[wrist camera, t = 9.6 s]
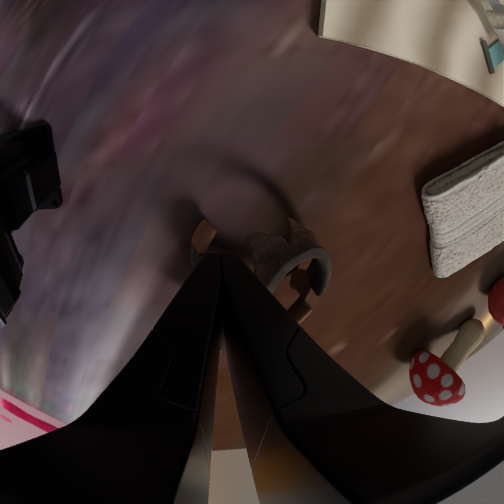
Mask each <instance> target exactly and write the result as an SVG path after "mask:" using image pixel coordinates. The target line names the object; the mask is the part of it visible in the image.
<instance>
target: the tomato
mask: <svg viewBox="0 0 504 504" xmlns="http://www.w3.org/2000/svg"><path fill="white" fill-rule="evenodd" d="M488 309H489V313H490V314H491V315H492V317H493V318H494V320H495V321H496V322H497V323H499V324H500V325H502V326H503V329H504V277H503V278H501V279H500V280H498V281H496V282H495V284H494V286H493V287H492V289H491V291H490V293H489V295H488Z"/></svg>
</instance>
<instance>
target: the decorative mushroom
mask: <svg viewBox="0 0 504 504" xmlns="http://www.w3.org/2000/svg"><path fill="white" fill-rule="evenodd" d="M483 338H484V327H483V324H482V322H481V321H480V320H477V319H469V320H467V321H465V322H464V323H463V325H462V326H461V327H460V329H459V331H458V333H457V335H456V337H455V339H454V341H453V342H452V344H451V345H450V346H449V347H448V349H447V350H446V351H445V352H444V353H443V355H442V356H441V358H439V357H437V356H436V355H434V354H432V353H430V352H428V351H425V350H421V351H418V352H417V353H415V354H414V355H413V358H412V360H411V364H410V369H409V376H410V381H411V385H412V388H413V390H414V393H415V394H416V395H417V397H418V398H419V399H420V400H422V401H423V402H425V403H427V404H431V405H436V406H448V405H451V404H454V403H457V402H458V401H460V400H461V399H463V397H464V395H465V384H464V383H463V381H462V379H461V378H460V377H459V376H458V375H457V373H456V371H457V370H458V369H459V368H460V366H461V365H462V364H463V362H464V361H465V359H466V358H467V357H468V355H469V354H470V353H471V352H472V351H473V350H474V349H475V348H476V347H477V346H478V345H479V344H480V342H481V341H482V339H483Z"/></svg>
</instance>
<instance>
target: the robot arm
mask: <svg viewBox="0 0 504 504" xmlns="http://www.w3.org/2000/svg"><path fill="white" fill-rule="evenodd" d="M44 129H45V130H46V132H47V133H46V135H45V134H44ZM60 184H61V182H60V176H59V170H58V164H57V157H56V153H55V152H54V145H53V136H52V129H51V127H50V126H49V125H42V126H37V127H32V128H27V129H23V130H18V131H14V132H10V133H6V134H2V135H0V329H1V328H2V327H4V326H5V325H6V323H7V321H6V320H5V319H6V318H7V316H8V315H9V314H10V312H11V310H12V309H13V307H14V305H15V304H16V302H17V300H18V299H19V297H20V294H21V290H20V289H19V287H20V283H21V280H22V276H23V274H22V268H23V264H24V260H23V258H22V256H21V254H19V252H18V250H17V247H16V245H15V242H14V240H13V237H12V235H11V234H12V232H13V231H14V230H18V229H19V228H20V227H21V226H22V225H23V223H24V222H25V221H26V220H27V219H28V218H29V217H30V215H31V214H32V213H33V212H35V211H37V210H41V209H56V208H59V207H60V206H61V205H62V203H63V199H62V194H61V189H60ZM55 200H57V201H58V203H56V202H55ZM221 322H222V332H223V339H224V344H225V349H226V354H227V360H228V365H229V370H230V375H231V380H232V385H233V390H234V395H235V399H236V404H237V409H238V413H239V418H240V423H241V427H242V432H243V436H244V440H245V445H246V449H247V453H248V458H249V462H250V466H251V469H252V474H253V478H254V483H255V487H256V491H257V495H258V498H259V502H260V504H504V416H503V417H502V418H500V419H499V420H496V421H493V422H489V423H471V422H464V421H457V420H451V419H445V418H440V417H435V416H429V415H424V414H419V413H415V412H410V411H405V410H402V409H398V408H395V407H393V406H391V405H389V404H387V403H385V402H383V401H382V400H380V399H379V398H378V397H376V396H375V395H374V394H372V393H371V392H370V391H369V390H368V389H367V388H365V387H364V386H363V385H362V384H361V383H360V382H358V381H357V380H356V379H355V378H354V377H353V376H351V375H350V374H349V373H348V372H347V371H346V370H344V369H343V368H342V367H341V366H340V365H339V364H338V363H336V362H335V361H334V360H333V359H332V358H331V357H330V356H329V355H328V354H327V353H326V352H325V351H323V350H322V349H321V348H320V346H319V345H318V344H317V343H316V342H315V341H314V340H313V339H312V338H311V337H310V336H309V335H308V334H307V333H306V332H305V330H304V329H303V328H302V327H300V325H299V324H298V323H297V322H296V320H295V319H294V318H293V317H292V316H291V315H290V314H289V313H288V311H287V310H286V309H285V308H284V307H283V306H282V305H281V304H280V302H279V301H278V300H277V299H276V298H275V297H274V296H273V295H272V293H271V292H270V291H269V290H268V289H267V288H266V287H265V285H264V284H263V283H262V282H261V281H260V280H259V279H258V277H257V276H256V275H255V274H254V273H253V272H252V271H251V270H250V268H249V267H248V266H247V265H246V264H245V263H244V262H243V260H242V259H241V258H240V257H239V256H238V255H237V254H236V253H234V252H230V253H221V255H220V253H205V254H204V255H203V257H202V258H201V260H200V261H199V262H198V264H197V265H196V267H195V268H194V269H193V271H192V272H191V274H190V275H189V276H188V278H187V279H186V281H185V282H184V284H183V285H182V286H181V288H180V289H179V291H178V292H177V294H176V295H175V297H174V298H173V299H172V301H171V302H170V304H169V305H168V307H167V308H166V310H165V311H164V313H163V314H162V315H161V317H160V318H159V320H158V321H157V323H156V324H155V326H154V327H153V330H151V331H150V333H149V334H148V336H147V337H146V339H145V340H144V342H143V343H142V345H141V346H140V347H139V349H138V350H137V352H136V353H135V354H134V356H133V357H132V358H131V359H130V361H129V362H128V363H127V364H126V365H125V367H124V368H123V369H122V370H121V371H120V373H119V374H118V375H117V376H116V377H115V378H114V380H113V381H112V382H111V383H110V384H109V385H108V387H107V388H106V389H105V390H104V391H103V392H102V393H101V395H100V396H99V397H98V398H97V399H96V400H95V402H94V403H93V404H92V405H91V406H90V407H89V409H88V410H87V411H86V412H85V413H83V414H82V415H81V416H80V417H79V418H78V419H76V420H75V421H73V422H72V423H70V424H68V425H66V426H64V427H61V428H59V429H56V430H54V431H51V432H49V433H46V434H44V435H41V436H39V437H36V438H33V439H31V440H28V441H25V442H23V443H20V444H17V445H14V446H12V447H9V448H5V449H2V450H0V504H208V496H209V480H210V464H211V449H212V436H213V422H214V410H215V397H216V386H217V374H218V363H219V352H220V341H221Z"/></svg>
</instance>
